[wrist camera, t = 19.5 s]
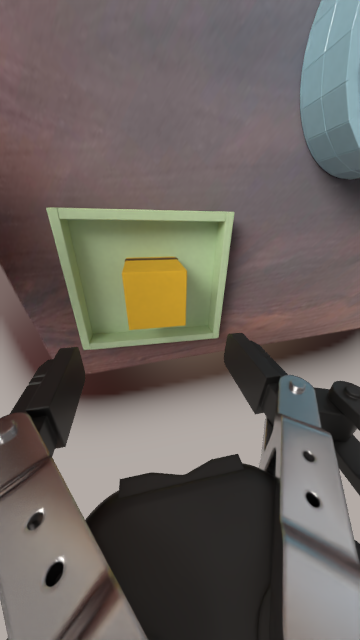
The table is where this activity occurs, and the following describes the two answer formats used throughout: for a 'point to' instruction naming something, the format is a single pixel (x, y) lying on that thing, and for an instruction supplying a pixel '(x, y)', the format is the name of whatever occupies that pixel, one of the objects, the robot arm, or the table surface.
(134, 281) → the block
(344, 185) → the table surface
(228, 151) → the table surface
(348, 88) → the bowl
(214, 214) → the tray
